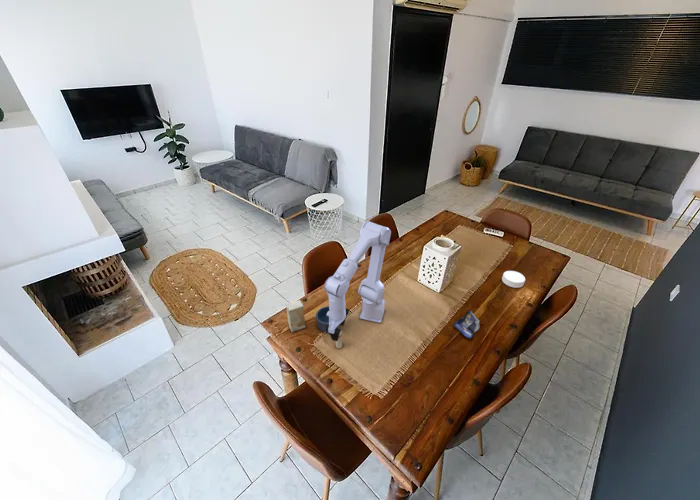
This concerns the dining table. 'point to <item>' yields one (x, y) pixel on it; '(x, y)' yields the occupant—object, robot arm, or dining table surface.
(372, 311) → the robot arm
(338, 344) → the dowel
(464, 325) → the snack package
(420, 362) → the dining table surface
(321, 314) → the holder
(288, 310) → the cosmetic box
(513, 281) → the white round disc
